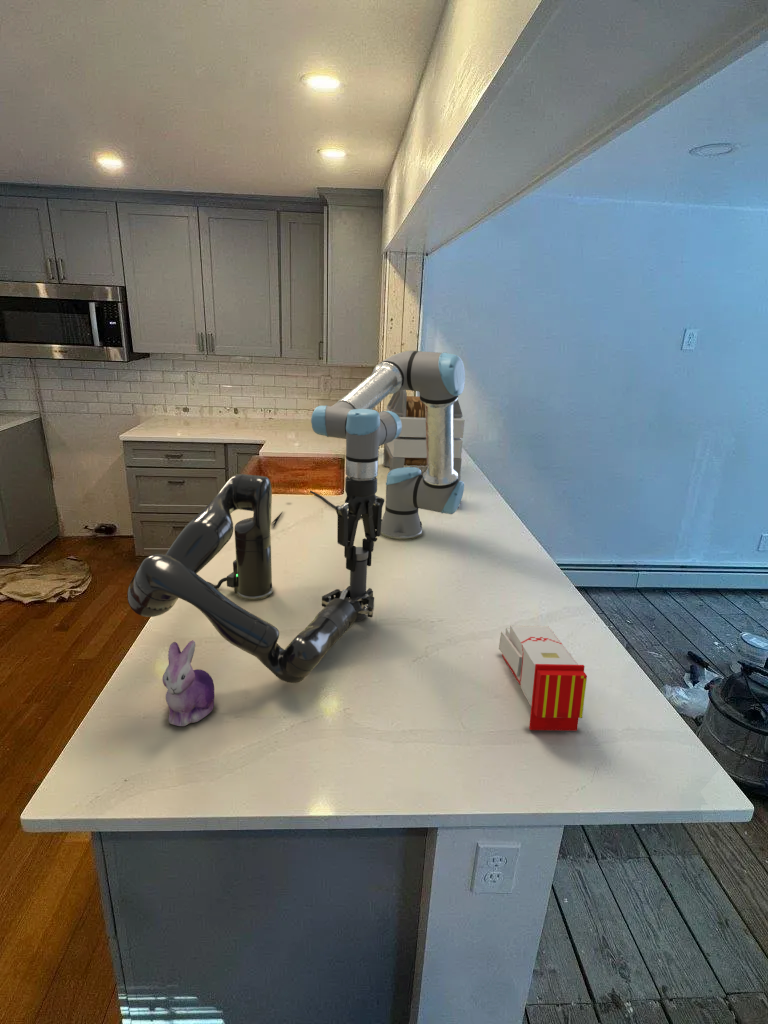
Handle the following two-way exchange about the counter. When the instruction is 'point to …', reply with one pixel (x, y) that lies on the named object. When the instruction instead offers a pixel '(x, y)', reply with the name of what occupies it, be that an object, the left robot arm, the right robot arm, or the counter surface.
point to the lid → (361, 553)
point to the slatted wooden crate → (417, 433)
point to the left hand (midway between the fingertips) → (362, 589)
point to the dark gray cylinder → (358, 582)
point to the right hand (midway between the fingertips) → (358, 566)
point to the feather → (276, 520)
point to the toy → (545, 676)
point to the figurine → (187, 687)
